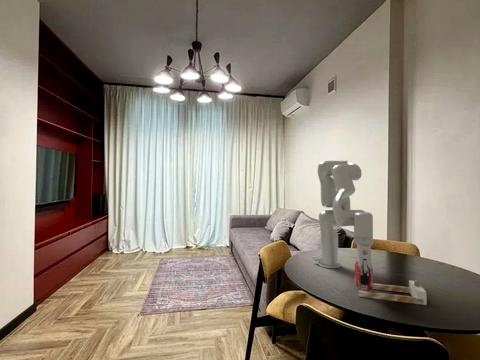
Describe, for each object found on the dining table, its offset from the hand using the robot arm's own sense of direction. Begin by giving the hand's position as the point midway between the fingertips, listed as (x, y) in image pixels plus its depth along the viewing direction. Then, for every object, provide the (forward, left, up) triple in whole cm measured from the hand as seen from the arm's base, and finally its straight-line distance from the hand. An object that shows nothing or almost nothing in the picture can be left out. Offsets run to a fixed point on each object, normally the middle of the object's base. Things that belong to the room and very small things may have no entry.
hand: (363, 281), depth 115 cm
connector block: (+20, 0, -5) cm, 21 cm away
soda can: (0, 0, -3) cm, 3 cm away
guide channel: (+9, 0, -5) cm, 10 cm away
